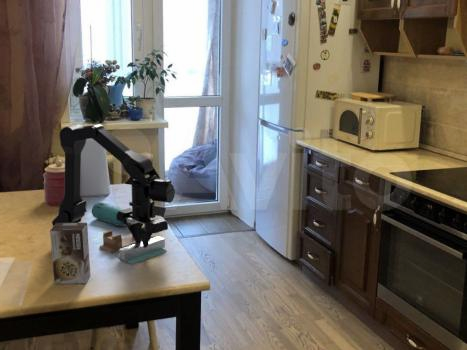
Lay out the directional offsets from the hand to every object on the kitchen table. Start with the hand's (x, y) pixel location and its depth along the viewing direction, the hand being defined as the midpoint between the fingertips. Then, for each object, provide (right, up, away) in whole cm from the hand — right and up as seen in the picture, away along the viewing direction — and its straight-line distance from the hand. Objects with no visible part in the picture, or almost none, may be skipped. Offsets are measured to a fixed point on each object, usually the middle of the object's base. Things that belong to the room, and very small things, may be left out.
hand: (142, 245), depth 178 cm
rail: (0, -2, +1) cm, 2 cm away
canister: (-42, +11, +54) cm, 69 cm away
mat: (0, -3, +1) cm, 3 cm away
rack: (-6, 0, +10) cm, 12 cm away
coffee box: (-17, -7, -18) cm, 26 cm away
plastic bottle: (-33, +15, +68) cm, 77 cm away
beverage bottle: (-23, +10, +35) cm, 43 cm away
